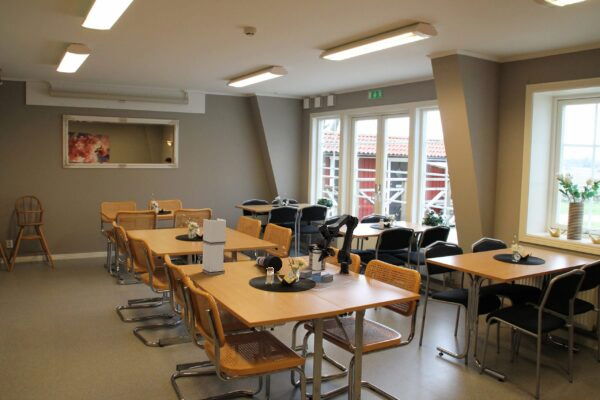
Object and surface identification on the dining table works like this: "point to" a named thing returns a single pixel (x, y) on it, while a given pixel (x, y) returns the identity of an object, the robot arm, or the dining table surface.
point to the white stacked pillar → (213, 246)
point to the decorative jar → (312, 260)
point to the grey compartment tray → (316, 276)
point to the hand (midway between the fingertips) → (315, 261)
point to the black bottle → (270, 262)
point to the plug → (316, 260)
